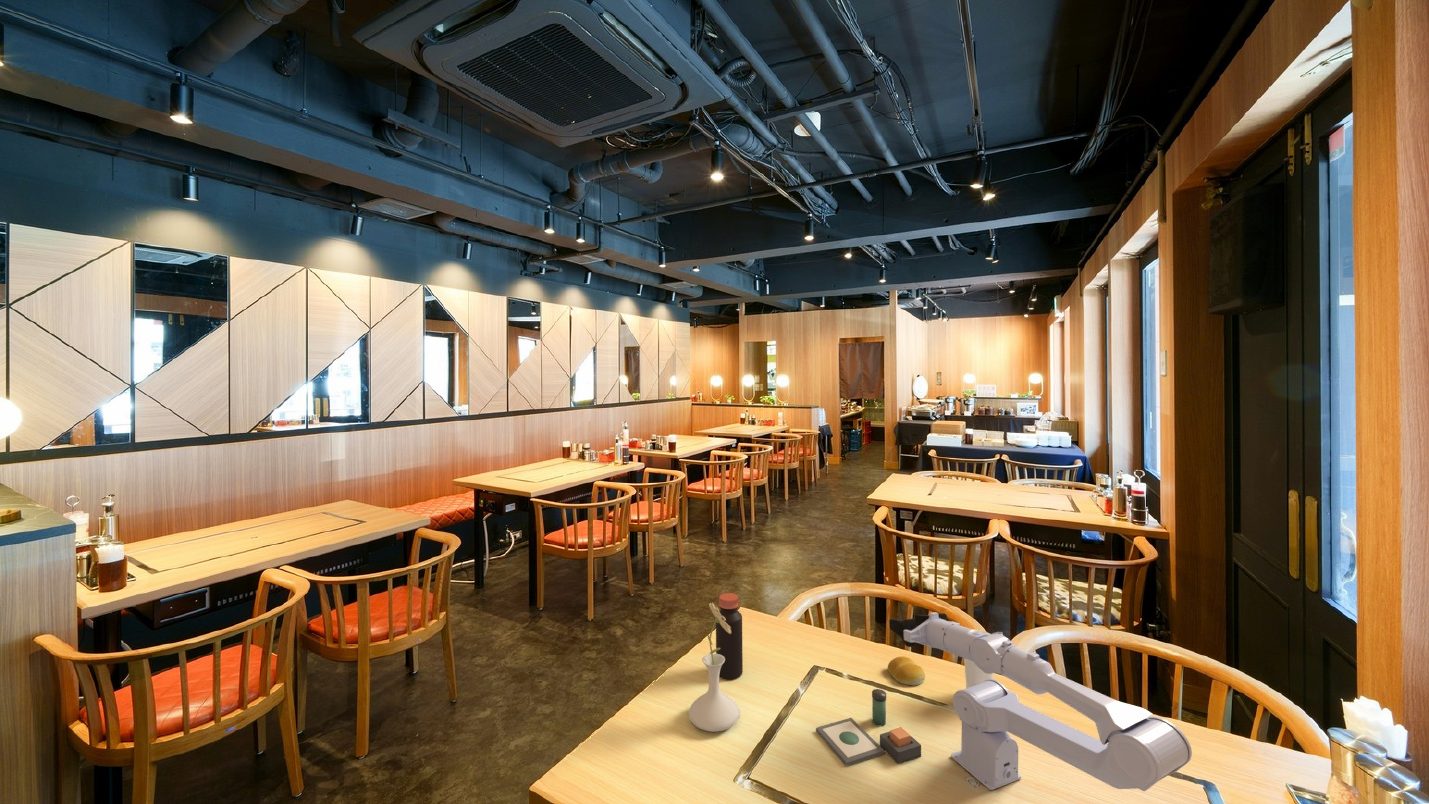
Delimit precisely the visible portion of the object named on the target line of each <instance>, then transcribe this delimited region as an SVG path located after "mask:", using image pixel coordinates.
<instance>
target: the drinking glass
mask: <svg viewBox="0 0 1429 804" xmlns="http://www.w3.org/2000/svg"><path fill="white" fill-rule="evenodd" d="M975 630H976V631H979V632H982V633H985V634H988V635H991V634H992V633H989V632H987V631H984V630H980V629H975ZM963 662H964V673H965V674H964V675H965V689H967V688H969V687H972V686H974V685H977V684H980V683H982V682H984V681H985V680H988V679H994V676H995V675H994V674H995V673H992V674H987V673H984V672H983V671H982V670H981V669H979V668H978V667H977V666H976V664H975V663H974V662H973V661H971V660H968V659H965V658H963Z"/></svg>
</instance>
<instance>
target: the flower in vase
mask: <svg viewBox="0 0 1429 804" xmlns="http://www.w3.org/2000/svg"><path fill="white" fill-rule="evenodd" d="M708 606H709V608H710V611H711V613H712V614H713V616H714V617H715V619H714V620H715V621H714V623H713V625H712V628H711V629H710V630H711V631H710V633H708V634H707V638H708V641H709V649H710V652H709V653H708V654H705V655H704V656H703V657H702V659H701V661H702V663H703V664H704V665H705V668H706V670H707V675H708V689H707V692H705V693H703V694H702V695H700V696H699V697H697V698H695V700H694V701H693V702H692V703H691V705H690V707H689V710H688V717H689V720H690V721H691V723H692V724H693V725H694V726H695V727H696V728H698V729H700V730H702V731H706V732H722V731H725V730H728V729H730V728H731V727H733V726H734V725H735V724H736V723H737V721H739V719H740V715H741V711H740V707H739V705H738V703H736V701H735V700H734V699H733V698H731V697H730V696H729V695H727V694H725V693H724V692H722V691H721V689H720V677H719V673H720V669H721V666H722V664H723V663H724V662H725V658H724V657H723V656H722V655H720V654H716V651H717V650H719V649H720V648H717V649H716V648H714V649H713V647H712V646H713V641H712V634H713V631H714V628H716V622H717V623H720V624H721V626H722V627H723V628H724V629H725V630H726V631H727V632H728V633H729V634H731V630H730V629H731V628H730V626H729V625H728V624H727V623H726V622H725V621H726V619H725V617H724V616H721V614H720V612H719V611H720V608H718V606H716V605H715V604H714V602H710V603H708Z"/></svg>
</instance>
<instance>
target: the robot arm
mask: <svg viewBox="0 0 1429 804" xmlns="http://www.w3.org/2000/svg"><path fill="white" fill-rule="evenodd" d="M888 621H889V622H888V623H889V629H890V631H892V632H894V633H895V634H896V635H897V636H898V637H899V638H900V639H901V640H902V641H903V643H904V645H905V646H906V647H908V648H911V647H912V648H913V647H915V643H917V644H920V645H923V646H927V647H930V648H934V649H938V650H941V651H944V652H946V653H949V654H952V655H954V656H958V657H960V658H963V659H964V658H965V659H968V660H971V661H973V662H974V663H975V664H976V666H977V667H978V668H979V669H981V670H982V671H983V672H984V673H987V674H992V673H994V674H997V675H1002V676H1003V677H1005V678H1007V679H1009V680H1011V681H1013V682H1014V683H1016V684H1018V685H1020V686H1021V687H1023V688H1025V689H1027V690H1029V691H1030V692H1032V693H1034V694H1035V695H1045V694H1046V693H1048V694H1050V695H1051V696H1053V697H1054V698H1056V699H1058V700H1059V701H1061V702H1062V703H1064V704H1066V705H1067V706H1069V707H1070V708H1072V709H1073V710H1075V711H1076V712H1078V713H1080V714H1082V715H1083V716H1085V717H1086V718H1088V719H1090V720H1091V721H1093V722H1094V723H1095V726H1096V730H1097V734H1098V736H1099V738H1096V737H1094V736H1092V735H1089V734H1088V733H1085V732H1083V731H1081V730H1079V729H1076V728H1075V727H1072V726H1070V725H1068V724H1066V723H1064V722H1062V721H1059V720H1057V719H1055V718H1054V717H1051V716H1049V715H1046V714H1044V713H1042V712H1040V711H1037V710H1036V709H1033V708H1032V707H1029V706H1027V705H1025V704H1022V703H1020V699H1019V697H1018V694H1017V693H1015V692H1013V691H1011V690H1009V689H1008V688H1007V687H1006V686H1005V685H1004V684H1003V683H1002V682H1000V681H999V680H997V679H994V678H993V679H988V680H985V681H984V682H982V683H980V684H977V685H974V686H972V687H969V688H967V689H966V688H964V689H959V690H956V691H955V692H954V694H953V698H952V703H953V704H952V705H953V707H954V710H955V713H956V714H957V716H958V717H959V720H960V721H961V744H960V745H961V747H960V748H961V750H958V751H955V752H953V753H951V754H950V757H951V758H952V759H953V760H954V761H955V762H957V764H959V765H960V766H961V767H962V768H964V769H965V770H966V771H967V772H968V773H970V774H971V776H973V777H974V778H975V779H976V780H977V781H979V783H981V784H983V785H984V786H985V787H986V788H987V789H988V790H990V791H994V790H996V789H998V788H1001V787H1003V786H1006V785H1008V784H1011V783H1013V782H1016V781H1019V780H1021V779H1022V775H1021V774H1020V773H1019V745H1018V743H1017V741H1016V740H1015V739H1014V738H1013V737H1012V736H1011V735H1010V734H1012V735H1013V736H1015V737H1017V738H1019V739H1021V740H1022V741H1025V742H1026V743H1028V744H1031V745H1033V746H1034V747H1036V748H1038V749H1040V750H1041V751H1043V752H1045V753H1048V754H1049V755H1051V756H1053V757H1055V758H1057V759H1059V760H1061V761H1063V762H1064V763H1066V764H1068V765H1070V766H1072V767H1074V768H1076V769H1077V770H1080V771H1082V772H1084V773H1086V774H1087V775H1090V776H1091V777H1093V778H1095V779H1097V780H1098V781H1101V782H1103V783H1105V785H1109V786H1110V787H1112V788H1114V789H1117V790H1133V789H1134V790H1135V789H1138V790H1140V791H1143V792H1146V791H1148V790H1149V789H1151V788H1152V787H1153V786H1154V785H1155V784H1157V783H1158V782H1159V781H1162V779H1165V778H1166V777H1167V776H1170V775H1172V774H1174V773H1176V772H1178V771H1180V769H1182V768H1183V767H1184V766H1186V765H1187V764H1188V763H1189V762H1190V761H1191V759H1192V753H1193V752H1192V746H1191V744H1190V741H1189V740H1188V738H1187V737H1186V735H1185V734H1184V733H1183V731H1182V730H1181V729H1180V728H1179V727H1178V726H1176V725H1175V724H1174V723H1172V722H1170V721H1169V720H1167V719H1165V718H1162V717H1158V716H1153V715H1154V714H1153V713H1152V712H1151V711H1149V710H1147V709H1146V708H1143V707H1140V706H1138V705H1137V706H1136V705H1133V704H1130V703H1126V702H1122V701H1119V700H1116V699H1114V698H1112V697H1110V696H1107V695H1106V694H1102V693H1101V692H1098V691H1096V690H1094V689H1092V688H1089V687H1088V686H1085V685H1082V684H1080V683H1078V682H1075V681H1073V680H1072V679H1070V678H1069V679H1068V678H1067V677H1064V676H1062V675H1060V674H1057V673H1056V672H1055V670H1054V669H1053V667H1052V665H1051V663H1050V662H1048V661H1047V660H1045V659H1042V658H1041V657H1040V654H1038V653H1037V652H1034V651H1030V652H1028V651H1026V650H1024V649H1022V648H1020V647H1019V646H1017V645H1014V644H1013V642H1012V641H1011V640H1010V639H1009V638H1008V637H1006V636H1005V635H1004V634H1003V632H1002V631H996V632H992V633H990V634H991V635H988V634H985V633H982V632H979V631H976V630H977V629H972V628H969V627H965V626H962V625H961V624H960V623H959V622H956V621H948V615H947V614H946V613H944V612H943V613H938V612H930V613H929V614H915V615H914V618H913V617H912V618H908V619H898V618H890V619H889V620H888Z"/></svg>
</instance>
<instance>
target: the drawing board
mask: <svg viewBox="0 0 1429 804" xmlns="http://www.w3.org/2000/svg"><path fill="white" fill-rule="evenodd" d="M815 732H816V733H817V734H818V735H819V737H820V738H821V739H822V740H823V741H824V743H826V745H827V746H828V747H829V748H830V750H832V752H833V753H834V754H835V755H836V756H837V757H838V758H839V760H840V761H841V762H842V763H843V764H844V765H845V767H850V766H853V765H857V764H859V763H862V762H864V761H868V760H871V759H874V758H876V757H880V756H884V755H885V751H884V749H883V748H882V747H881V746H880V744H879V743H878V742H876V741H875V739H874V738H872V737H871V735H869V734H868V733H867V731H866V730H865V729H864V728H862V726H860V725H859V723H857V721H856V720H854V719H853V718H852V717H849V718H845V719H841V720H839V721H838V720H837V721H834V722H831V723H828V724H824V725H820V726H818V727H815Z"/></svg>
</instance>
